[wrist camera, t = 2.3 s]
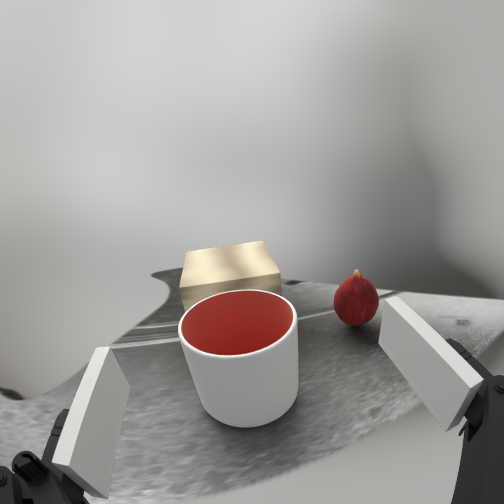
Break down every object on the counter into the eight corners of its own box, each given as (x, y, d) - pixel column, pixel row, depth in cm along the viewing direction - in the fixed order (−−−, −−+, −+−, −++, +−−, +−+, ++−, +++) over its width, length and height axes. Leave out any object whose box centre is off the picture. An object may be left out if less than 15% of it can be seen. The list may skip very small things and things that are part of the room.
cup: (316, 383, 28) (318, 304, 24) (257, 450, 21) (242, 378, 17) (244, 352, 34) (232, 280, 30) (183, 401, 27) (154, 327, 23)
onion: (383, 324, 35) (390, 270, 32) (355, 344, 32) (361, 287, 29) (352, 308, 40) (355, 257, 37) (323, 324, 37) (324, 270, 34)
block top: (188, 325, 32) (179, 287, 31) (193, 283, 43) (186, 251, 41) (282, 311, 33) (280, 272, 31) (266, 272, 43) (263, 240, 42)
